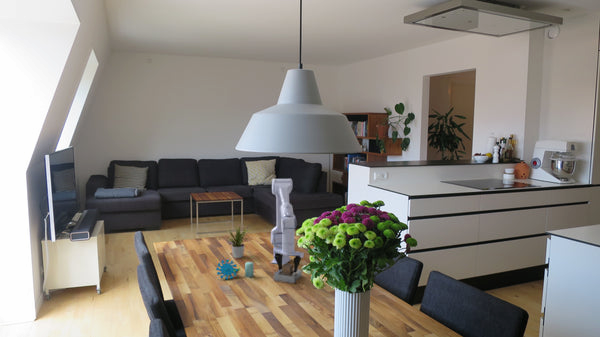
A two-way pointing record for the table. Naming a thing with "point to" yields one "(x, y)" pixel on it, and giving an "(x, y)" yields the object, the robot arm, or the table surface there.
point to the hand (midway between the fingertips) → (287, 270)
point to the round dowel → (249, 269)
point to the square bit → (287, 268)
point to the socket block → (287, 276)
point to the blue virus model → (227, 269)
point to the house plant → (238, 243)
